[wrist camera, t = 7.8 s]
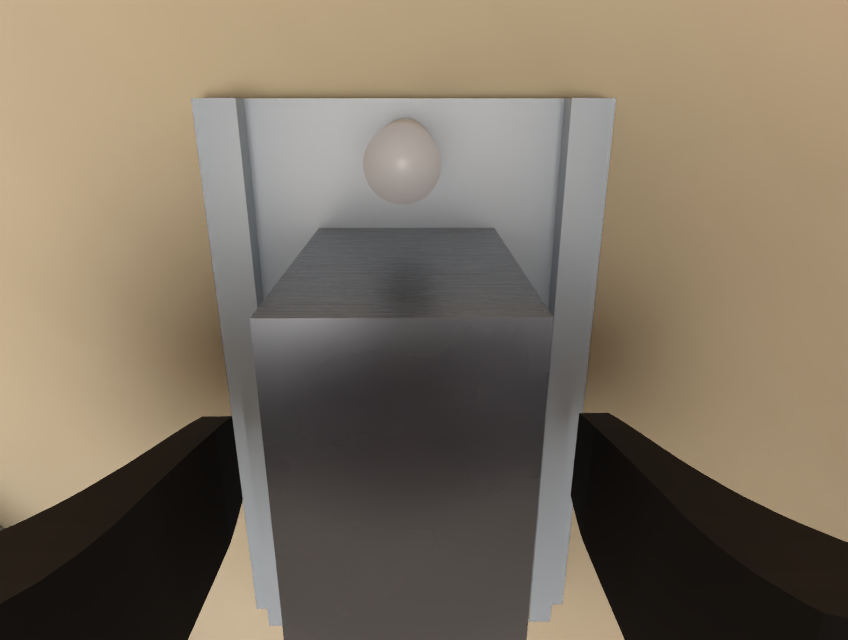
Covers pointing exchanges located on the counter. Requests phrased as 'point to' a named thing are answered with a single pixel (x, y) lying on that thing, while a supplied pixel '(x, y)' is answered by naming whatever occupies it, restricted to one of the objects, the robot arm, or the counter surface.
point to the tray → (409, 208)
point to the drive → (403, 434)
